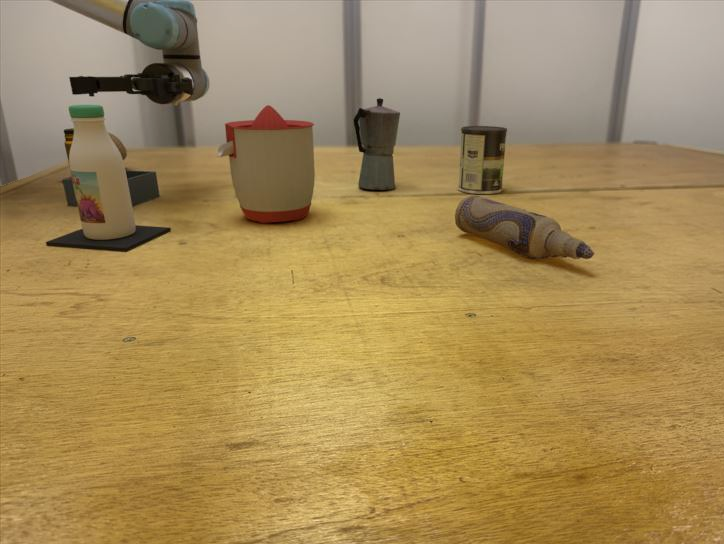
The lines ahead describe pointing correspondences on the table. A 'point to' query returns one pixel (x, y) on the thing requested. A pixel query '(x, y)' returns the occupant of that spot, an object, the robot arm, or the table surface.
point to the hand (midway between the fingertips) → (114, 86)
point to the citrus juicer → (271, 166)
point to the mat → (118, 244)
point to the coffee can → (482, 159)
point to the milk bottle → (99, 177)
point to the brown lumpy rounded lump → (119, 145)
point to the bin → (139, 184)
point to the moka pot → (377, 145)
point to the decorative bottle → (518, 229)
